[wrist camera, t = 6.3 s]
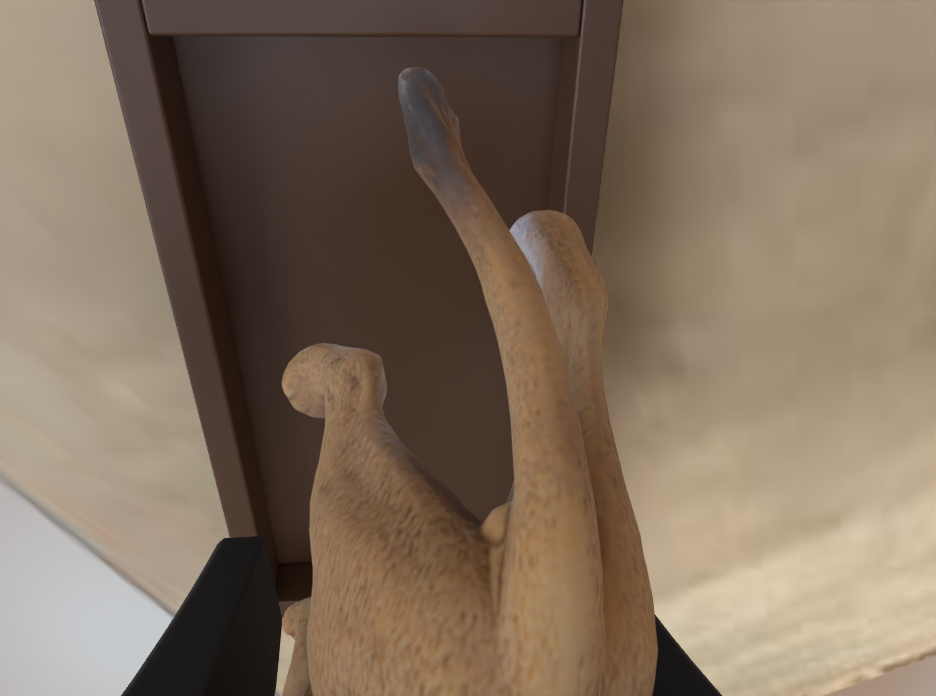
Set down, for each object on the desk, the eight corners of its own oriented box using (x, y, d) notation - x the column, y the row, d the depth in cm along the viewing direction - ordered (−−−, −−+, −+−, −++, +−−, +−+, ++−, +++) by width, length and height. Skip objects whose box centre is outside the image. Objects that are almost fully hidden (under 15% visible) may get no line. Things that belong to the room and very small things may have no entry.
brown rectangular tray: (595, -17, 14) (626, -9, 12) (537, 548, 24) (549, 598, 22) (128, -22, 13) (88, -15, 12) (260, 567, 23) (249, 621, 21)
